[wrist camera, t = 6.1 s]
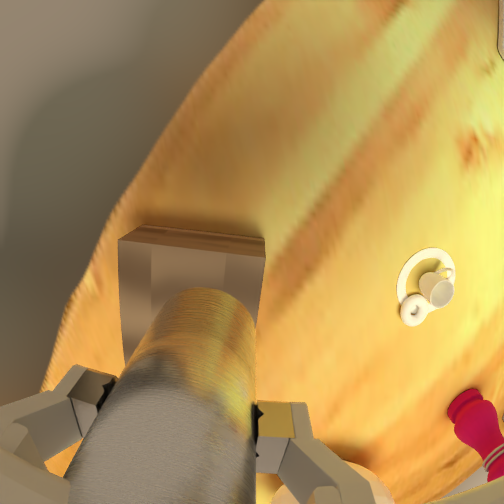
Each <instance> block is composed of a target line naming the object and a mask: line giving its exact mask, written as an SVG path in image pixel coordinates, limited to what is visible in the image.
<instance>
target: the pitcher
mask: <svg viewBox="0 0 504 504" xmlns="http://www.w3.org/2000/svg"><path fill="white" fill-rule="evenodd" d="M343 461H344V462H346V463H347V464H348V465H349V466H350V467H352V468H353V469H354V470H355V471H356V472H358V473H359V474H360V475H361V476H362V477H364V478H365V479H366V480H367V481H369V483H370V486H371V489H372V492H373V496H374V499H375V502H376V504H395V502H394V500H393V498H392V496H391V493H390V491H389V489H388V488H387V486H386V485H385V484H384V483H383V482H382V481H381V480H380V478H379V477H378V476H376V475H375V474H374V473H373V472H371V471H370V470H368V469H366V468H364V467H362V466H361V465H358V464H355V463H352V462H348V461H345V460H343ZM271 504H300V503H299V502H298V501H297V500H296V498H295V497H294V496H293V495H292V493H291V492H290V491H289V490H288V488H287V487H286V486H285V484H283V485H282V486H281V487H280V488H279V489H278V490H277V491H276V493H275V495H274V497H273V499H272V501H271Z"/></svg>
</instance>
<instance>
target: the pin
mask: <svg viewBox="0 0 504 504" xmlns="http://www.w3.org/2000/svg"><path fill="white" fill-rule="evenodd" d="M63 478H64V479H66V480H68V481H69V482H70V484H71V487H70V493H69V498H68V503H67V504H256V329H255V325H254V322H253V319H252V317H251V315H250V313H249V312H248V310H247V309H246V308H245V307H244V306H243V304H242V303H241V302H239V301H238V300H237V299H236V298H234V297H233V296H231V295H229V294H227V293H225V292H223V291H220V290H217V289H212V288H204V287H198V288H190V289H186V290H183V291H181V292H179V293H176V294H175V295H173V296H172V297H171V298H169V299H168V300H167V301H166V303H165V304H164V305H163V306H162V308H161V310H160V311H159V313H158V314H157V316H156V317H155V319H154V321H153V322H152V324H151V325H150V327H149V329H148V330H147V332H146V333H145V335H144V337H143V338H142V340H141V342H140V343H139V345H138V346H137V348H136V350H135V351H134V353H133V355H132V356H131V358H130V360H129V361H128V363H127V365H126V366H125V368H124V370H123V371H122V373H121V375H120V376H119V378H118V380H117V381H116V383H115V385H114V386H113V388H112V390H111V392H110V393H109V395H108V397H107V398H106V400H105V402H104V404H103V405H102V407H101V409H100V411H99V412H98V414H97V416H96V418H95V419H94V421H93V423H92V425H91V426H90V428H89V430H88V432H87V434H86V435H85V437H84V439H83V441H82V443H81V445H80V446H79V448H78V450H77V452H76V454H75V456H74V457H73V459H72V461H71V463H70V465H69V467H68V469H67V471H66V472H65V474H64V476H63Z"/></svg>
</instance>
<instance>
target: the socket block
mask: <svg viewBox="0 0 504 504" xmlns="http://www.w3.org/2000/svg"><path fill="white" fill-rule="evenodd" d="M265 259H266V255H265V241H264V239H263V238H255V237H247V236H238V235H230V234H221V233H213V232H204V231H195V230H187V229H178V228H169V227H160V226H151V225H141V226H139V227H138V228H136V229H135V230H133V231H131V232H130V233H128V234H126V235H125V236H123V237H122V238H120V239H118V275H119V299H120V316H121V329H122V340H123V350H124V360H125V366H126V365H127V363H128V361H129V360H130V358H131V356H132V355H133V353H134V351H135V350H136V348H137V346H138V345H139V343H140V342H141V340H142V338H143V337H144V335H145V333H146V332H147V330H148V329H149V327H150V325H151V324H152V322H153V321H154V319H155V317H156V316H157V314H158V313H159V311H160V310H161V308H162V306H163V305H164V304H165V303H166V301H167V300H168V299H169V298H171V297H172V296H173V295H175V294H176V293H179V292H181V291H183V290H186V289H190V288H198V287H204V288H212V289H217V290H220V291H223V292H225V293H227V294H229V295H231V296H233V297H234V298H236V299H237V300H238V301H239V302H241V303H242V304H243V306H244V307H245V308H246V309H247V310H248V312H249V313H250V315H251V317H252V319H253V322H254V325H255V329H256V322H257V315H258V309H259V302H260V295H261V288H262V281H263V273H264V266H265Z"/></svg>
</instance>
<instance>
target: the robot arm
mask: <svg viewBox="0 0 504 504" xmlns="http://www.w3.org/2000/svg"><path fill="white" fill-rule="evenodd" d="M498 50H499V53H500V55H501V56H502V58H503V59H504V0H499V37H498ZM117 380H118V378H117V377H116V376H114V375H111V374H107V373H104V372H100V371H97V370H94V369H90V368H86V367H83V366H80V365H74V366H72V368H71V369H70V370H69V371H68V373H67V374H66V375H65V376H64V377H63V379H62V380H61V381H60V382H59V384H58V385H57V386H56V387H55V389H54V390H53V391H49V390H48V391H45V392H42V393H39V394H37V395H34V396H31V397H28V398H25V399H22V400H19V401H16V402H13V403H10V404H7V405H4V406H1V407H0V504H67V503H68V498H69V493H70V487H71V484H70V482H69V481H68V480H66V479H64V478H62V477H59V476H57V475H55V474H52V473H50V472H49V471H48V469H47V467H46V465H45V464H44V461H46V460H48V459H49V458H51V457H53V456H55V455H56V454H58V453H60V452H61V451H63V450H65V449H66V448H68V447H69V446H71V445H73V444H74V443H76V442H78V441H79V440H81V439H82V438H84V437H85V435H86V434H87V432H88V430H89V428H90V426H91V425H92V423H93V421H94V419H95V418H96V416H97V414H98V412H99V411H100V409H101V407H102V405H103V404H104V402H105V400H106V398H107V397H108V395H109V393H110V392H111V390H112V388H113V386H114V385H115V383H116V381H117ZM256 472H258V473H272V474H277V475H278V477H279V478H280V479H281V481H282V482H283V483H284V484H285V486H286V487H287V488H288V490H289V491H290V492H291V493H292V495H293V496H294V497H295V498H296V500H297V501H298V502H299V503H300V504H376V502H375V499H374V496H373V492H372V489H371V486H370V483H369V481H367V480H366V479H365V478H364V477H362V476H361V475H360V474H359V473H358V472H356V471H355V470H354V469H353V468H352V467H350V466H349V465H348V464H347V463H346V462H344V461H343V460H342V459H341V458H340V457H338V456H337V455H336V454H335V453H334V452H333V451H332V450H330V449H329V448H328V447H327V446H326V445H325V444H324V443H322V442H321V441H320V440H319V439H314V437H313V432H312V427H311V422H310V417H309V412H308V407H307V404H306V403H305V402H277V401H264V400H257V403H256ZM425 504H504V476H501V477H499V478H497V479H495V480H492V481H490V482H487V483H485V484H482V485H480V486H477V487H475V488H472V489H469V490H467V491H464V492H461V493H458V494H455V495H453V496H449V497H446V498H442V499H439V500H436V501H432V502H429V503H425Z"/></svg>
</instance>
